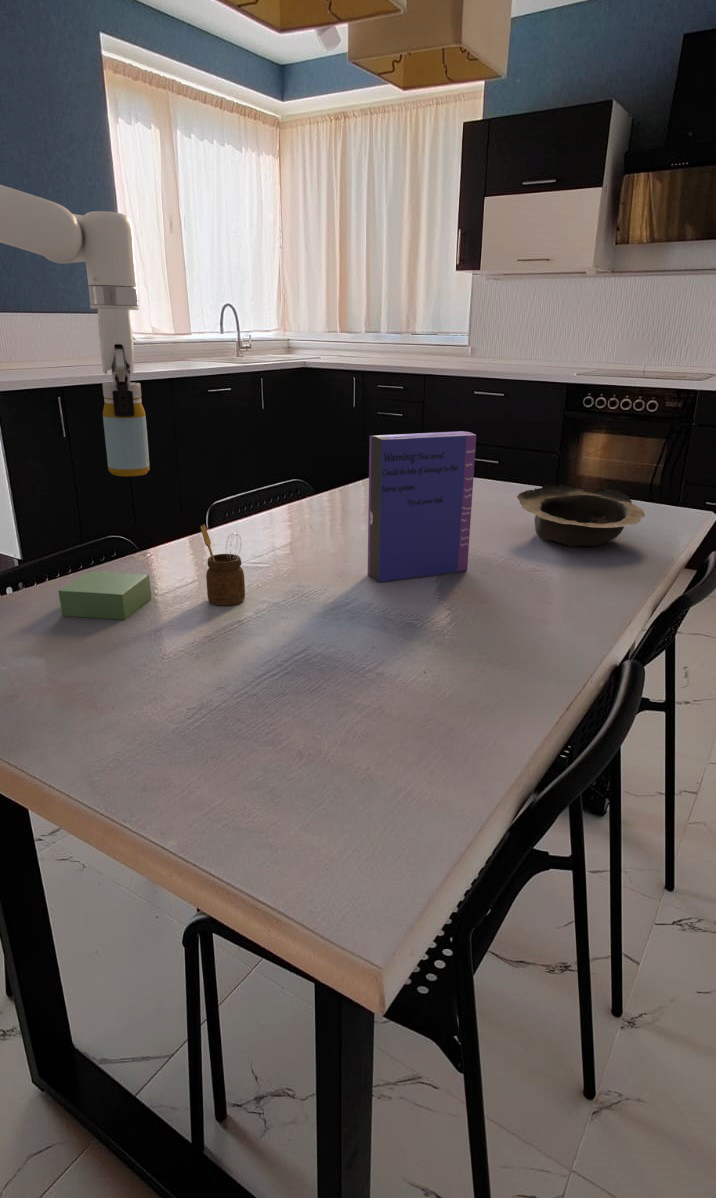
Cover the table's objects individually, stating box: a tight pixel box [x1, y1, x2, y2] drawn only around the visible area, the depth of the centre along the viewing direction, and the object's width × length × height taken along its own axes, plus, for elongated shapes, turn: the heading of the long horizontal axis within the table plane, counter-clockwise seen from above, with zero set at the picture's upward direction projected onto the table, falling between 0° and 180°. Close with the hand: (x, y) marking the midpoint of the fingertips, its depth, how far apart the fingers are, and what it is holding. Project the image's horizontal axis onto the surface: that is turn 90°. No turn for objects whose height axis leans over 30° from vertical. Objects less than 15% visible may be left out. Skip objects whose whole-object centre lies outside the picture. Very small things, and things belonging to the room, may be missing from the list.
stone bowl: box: [516, 483, 646, 548], centre depth 158 cm, size 25×25×9 cm
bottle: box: [102, 381, 151, 477], centre depth 133 cm, size 7×7×15 cm
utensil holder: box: [199, 524, 246, 607], centre depth 120 cm, size 6×6×12 cm
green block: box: [58, 570, 152, 621], centre depth 118 cm, size 10×10×4 cm
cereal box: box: [367, 430, 477, 584], centre depth 132 cm, size 17×5×24 cm, turn 113°
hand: (124, 413), depth 132 cm, fingers closed on bottle, 7 cm apart
